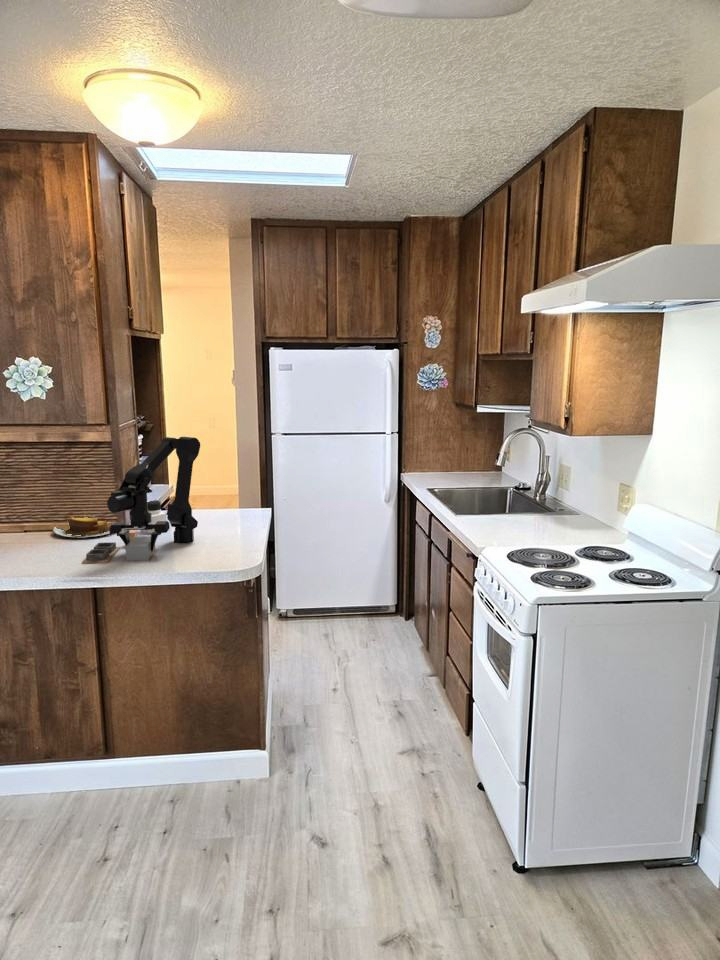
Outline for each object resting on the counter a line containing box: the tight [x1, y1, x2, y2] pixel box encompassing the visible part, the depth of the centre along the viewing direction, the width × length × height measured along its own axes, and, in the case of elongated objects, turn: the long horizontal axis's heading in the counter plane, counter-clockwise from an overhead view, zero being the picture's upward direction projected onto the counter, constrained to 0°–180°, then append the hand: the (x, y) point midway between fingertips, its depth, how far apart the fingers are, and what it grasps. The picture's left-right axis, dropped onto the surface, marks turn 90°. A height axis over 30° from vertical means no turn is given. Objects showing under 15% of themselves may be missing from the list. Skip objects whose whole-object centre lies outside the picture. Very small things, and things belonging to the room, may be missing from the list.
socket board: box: [81, 541, 121, 565], centre depth 213 cm, size 8×16×4 cm, turn 6°
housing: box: [125, 535, 156, 562], centre depth 214 cm, size 7×12×5 cm, turn 6°
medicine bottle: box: [140, 499, 167, 534], centre depth 247 cm, size 7×7×12 cm
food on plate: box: [52, 516, 110, 539], centre depth 246 cm, size 25×25×7 cm
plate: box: [123, 548, 159, 562], centre depth 214 cm, size 9×13×4 cm
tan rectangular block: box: [129, 530, 138, 541], centre depth 225 cm, size 3×3×6 cm
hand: (141, 551), depth 214 cm, fingers closed on housing, 7 cm apart
